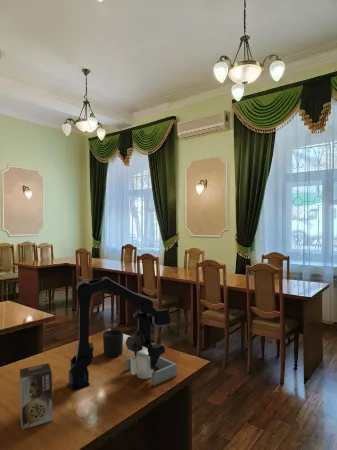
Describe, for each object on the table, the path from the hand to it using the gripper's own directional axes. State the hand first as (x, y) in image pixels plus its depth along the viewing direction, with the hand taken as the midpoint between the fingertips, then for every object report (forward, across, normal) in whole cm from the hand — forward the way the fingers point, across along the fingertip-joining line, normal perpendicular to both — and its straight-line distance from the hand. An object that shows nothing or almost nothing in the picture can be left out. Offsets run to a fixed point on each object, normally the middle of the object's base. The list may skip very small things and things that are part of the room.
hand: (145, 365), depth 132 cm
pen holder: (+4, -27, +2) cm, 27 cm away
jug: (+4, 0, -2) cm, 4 cm away
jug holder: (+4, 0, +3) cm, 5 cm away
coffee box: (+4, 0, -44) cm, 44 cm away
